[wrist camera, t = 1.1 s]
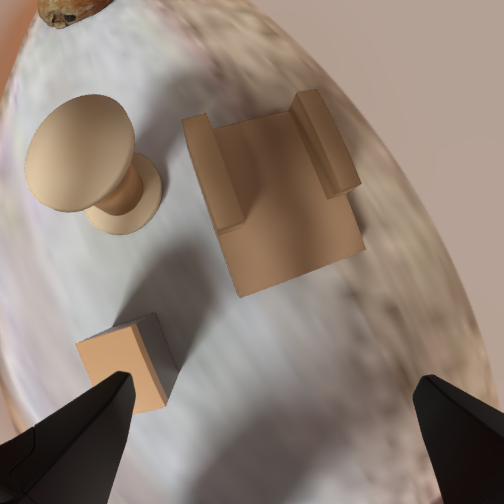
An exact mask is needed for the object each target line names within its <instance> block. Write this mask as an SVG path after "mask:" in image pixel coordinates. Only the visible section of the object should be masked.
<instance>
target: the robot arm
mask: <svg viewBox="0 0 504 504" xmlns="http://www.w3.org/2000/svg"><path fill="white" fill-rule="evenodd" d="M135 400H136V391H135V387H134V382H133V377H132V375H131V373H129V372H124V371H116V372H115V373H113V374H112V375H110V376H109V377H107V378H106V379H104V380H103V381H101V382H100V383H98V384H97V385H95V386H94V387H92V388H91V389H89V390H88V391H86V392H85V393H83V394H82V395H80V396H79V397H77V398H76V399H74V400H73V401H71V402H70V403H68V404H67V405H65V406H64V407H62V408H60V409H59V410H57V411H56V412H54V413H53V414H51V415H50V416H48V417H47V418H45V419H44V420H42V421H41V422H39V423H37V424H36V425H35V426H34V427H31V428H29V429H28V430H26V431H25V432H23V433H21V434H20V435H18V436H16V437H15V438H13V439H12V440H9V441H7V442H5V443H4V444H1V445H0V504H107V502H108V499H109V495H110V492H111V489H112V486H113V482H114V479H115V476H116V473H117V470H118V467H119V463H120V460H121V457H122V454H123V451H124V448H125V445H126V442H127V438H128V433H129V428H130V423H131V419H132V414H133V409H134V405H135ZM413 403H414V406H415V410H416V414H417V418H418V422H419V426H420V430H421V433H422V437H423V440H424V443H425V446H426V449H427V451H428V454H429V457H430V460H431V463H432V466H433V469H434V473H435V476H436V479H437V482H438V485H439V489H440V492H441V495H442V499H443V502H444V504H504V413H502V412H500V411H499V410H497V409H495V408H493V407H491V406H489V405H488V404H486V403H484V402H482V401H480V400H479V399H477V398H475V397H473V396H471V395H470V394H468V393H466V392H464V391H462V390H461V389H459V388H457V387H455V386H453V385H452V384H450V383H448V382H446V381H444V380H443V379H441V378H439V377H437V376H436V375H433V374H431V375H425V376H423V377H422V378H421V379H420V381H419V383H418V385H417V387H416V389H415V391H414V393H413Z"/></svg>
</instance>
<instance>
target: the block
mask: <svg viewBox="0 0 504 504" xmlns="http://www.w3.org/2000/svg"><path fill="white" fill-rule="evenodd" d="M75 345H76V347H77V350H78V352H79V355H80V357H81V360H82V362H83V365H84V367H85V369H86V372H87V374H88V376H89V379H90V381H91V383H92V385H93V387H94V386H95V385H97V384H98V383H100V382H101V381H103V380H104V379H106V378H107V377H109V376H110V375H112V374H113V373H115V372H116V371H124V372H129V373H131V375H132V377H133V382H134V387H135V391H136V400H135V405H134V409H133V414H132V415H134V414H139V413H143V412H147V411H151V410H155V409H159V408H163V407H166V404H167V402H168V399H169V397H170V394H171V392H172V389H173V387H174V384H175V382H176V379H177V377H178V374H179V371H178V369H177V367H176V364H175V362H174V359H173V357H172V355H171V352H170V350H169V347H168V345H167V342H166V340H165V337H164V335H163V332H162V329H161V327H160V324H159V322H158V319H157V316H156V313H154V314H151V315H148V316H145V317H142V318H139V319H136V320H133V321H130V322H126V323H123V324H120V325H117V326H114V327H111V328H109V329H107V330H105V331H103V332H100V333H98V334H96V335H94V336H92V337H90V338H87V339H85V340H83V341H81V342H79V343H76V344H75Z"/></svg>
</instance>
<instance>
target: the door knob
mask: <svg viewBox="0 0 504 504" xmlns="http://www.w3.org/2000/svg"><path fill="white" fill-rule="evenodd" d="M134 147H135V135H134V129H133V126H132V123H131V121H130V119H129V117H128V115H127V113H126V111H125V110H124V108H123V107H122V106H121V105H120V104H119V103H118V102H117V101H115V100H114V99H112V98H110V97H107V96H104V95H97V94H92V95H84V96H80V97H77V98H74V99H72V100H69V101H67V102H66V103H64V104H62V105H61V106H59V107H58V108H56V109H55V110H54V111H53V112H52V113H50V114H49V115H48V116H47V118H46V119H45V120H44V121H43V122H42V123H41V125H40V126H39V128H38V129H37V130H36V132H35V134H34V136H33V138H32V140H31V142H30V145H29V148H28V151H27V155H26V160H25V177H26V181H27V185H28V187H29V190H30V192H31V193H32V195H33V196H34V197H35V198H36V199H37V200H38V201H39V202H40V203H42V204H43V205H45V206H47V207H50V208H52V209H54V210H57V211H60V212H78V211H82V210H84V212H85V214H86V216H87V218H88V220H89V221H90V222H91V223H92V224H93V225H94V226H95V227H97V228H98V229H100V230H102V231H104V232H107V233H110V234H114V235H124V234H129V233H132V232H135V231H137V230H139V229H140V228H142V227H143V226H144V225H146V224H147V223H148V222H149V221H150V220H151V219H152V217H153V216H154V214H155V213H156V211H157V209H158V207H159V204H160V201H161V197H162V183H161V179H160V176H159V174H158V172H157V170H156V168H155V166H154V165H153V163H152V162H151V161H150V160H149V159H148V158H146V157H145V156H143V155H141V154H139V153H136V152H134Z"/></svg>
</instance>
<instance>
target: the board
mask: <svg viewBox="0 0 504 504" xmlns="http://www.w3.org/2000/svg"><path fill="white" fill-rule="evenodd" d="M182 124H183V128H184V133H185V138H186V143H187V147H188V151H189V154H190V157H191V161H192V164H193V167H194V170H195V173H196V176H197V179H198V182H199V185H200V188H201V191H202V194H203V197H204V200H205V203H206V206H207V209H208V212H209V215H210V218H211V221H212V224H213V226H214V229H215V232H216V235H217V238H218V241H219V244H220V247H221V250H222V252H223V255H224V258H225V261H226V264H227V267H228V269H229V272H230V275H231V278H232V281H233V283H234V286H235V289H236V292H237V295H238V296H239V297H240V298H242V297H244V296H247V295H250V294H253V293H255V292H258V291H261V290H264V289H266V288H269V287H272V286H274V285H277V284H280V283H282V282H285V281H288V280H290V279H293V278H296V277H298V276H301V275H303V274H306V273H308V272H311V271H314V270H316V269H319V268H321V267H324V266H326V265H329V264H331V263H334V262H336V261H339V260H341V259H344V258H346V257H349V256H351V255H354V254H356V253H359V252H361V251H364V250H366V248H365V245H364V242H363V239H362V236H361V234H360V231H359V228H358V225H357V222H356V220H355V217H354V214H353V212H352V209H351V206H350V204H349V201H348V199H347V196H346V194H347V193H348V192H350V191H351V190H353V189H354V188H356V187H357V186H359V185H360V184H362V183H361V181H360V178H359V176H358V173H357V171H356V169H355V166H354V164H353V162H352V159H351V157H350V155H349V153H348V151H347V148H346V146H345V144H344V142H343V140H342V138H341V135H340V133H339V131H338V129H337V127H336V125H335V123H334V121H333V119H332V117H331V115H330V113H329V111H328V109H327V107H326V105H325V103H324V101H323V100H322V98H321V96H320V94H319V92H318V90H317V89H315V90H308V91H302V92H297V93H296V95H295V98H294V100H293V102H292V104H291V107H290V109H289V111H287V112H282V113H277V114H273V115H268V116H264V117H260V118H255V119H251V120H247V121H243V122H239V123H235V124H232V125H228V126H224V127H221V128H217V129H214V130H212V128H211V125H210V122H209V120H208V117H207V114H206V113H203V114H199V115H196V116H193V117H189V118H186V119H183V120H182Z"/></svg>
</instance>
